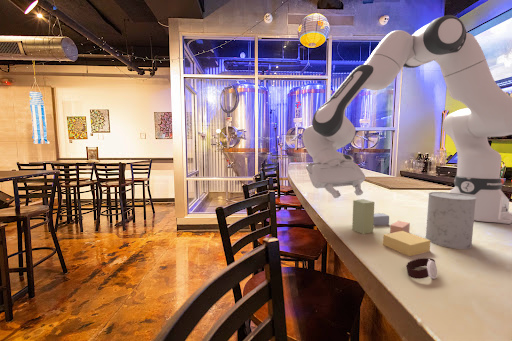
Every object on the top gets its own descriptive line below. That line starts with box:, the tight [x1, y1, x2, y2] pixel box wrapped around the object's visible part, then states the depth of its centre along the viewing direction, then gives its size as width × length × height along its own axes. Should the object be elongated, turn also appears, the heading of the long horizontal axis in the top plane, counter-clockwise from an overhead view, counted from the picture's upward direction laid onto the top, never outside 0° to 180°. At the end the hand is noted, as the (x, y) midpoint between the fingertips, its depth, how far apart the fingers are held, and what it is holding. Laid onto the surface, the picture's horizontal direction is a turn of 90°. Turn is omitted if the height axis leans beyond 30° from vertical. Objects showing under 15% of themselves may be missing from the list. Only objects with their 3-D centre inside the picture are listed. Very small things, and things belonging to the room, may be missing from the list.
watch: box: [406, 257, 438, 280], centre depth 46 cm, size 8×5×4 cm, turn 126°
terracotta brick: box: [389, 220, 411, 233], centre depth 68 cm, size 6×3×3 cm, turn 130°
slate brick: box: [373, 213, 390, 226], centre depth 77 cm, size 6×3×3 cm, turn 99°
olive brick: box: [351, 198, 375, 235], centre depth 70 cm, size 4×4×9 cm
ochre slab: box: [382, 231, 431, 257], centre depth 58 cm, size 7×7×3 cm
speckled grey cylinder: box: [424, 191, 476, 250], centre depth 62 cm, size 10×10×12 cm
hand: (349, 195), depth 74 cm, fingers open, 8 cm apart
